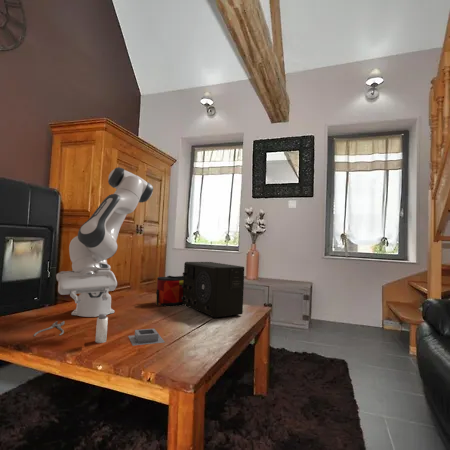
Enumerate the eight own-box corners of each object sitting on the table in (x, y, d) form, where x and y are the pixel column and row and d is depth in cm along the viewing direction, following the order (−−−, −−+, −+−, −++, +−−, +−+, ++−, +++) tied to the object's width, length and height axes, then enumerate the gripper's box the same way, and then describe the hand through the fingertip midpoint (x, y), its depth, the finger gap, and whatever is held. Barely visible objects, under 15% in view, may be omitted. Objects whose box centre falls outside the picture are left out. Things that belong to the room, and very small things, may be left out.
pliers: (32, 336, 108) (38, 322, 126) (32, 339, 108) (38, 324, 126) (63, 334, 112) (64, 320, 130) (63, 336, 112) (64, 322, 130)
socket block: (128, 338, 111) (128, 328, 112) (157, 336, 116) (158, 326, 116) (132, 348, 101) (133, 337, 102) (164, 345, 106) (165, 335, 106)
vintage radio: (176, 305, 174) (178, 261, 176) (205, 302, 185) (207, 261, 187) (210, 320, 143) (213, 267, 145) (243, 316, 154) (245, 266, 156)
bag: (191, 299, 195) (192, 273, 196) (204, 302, 185) (205, 275, 186) (148, 303, 175) (150, 275, 176) (161, 308, 165) (162, 277, 166)
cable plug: (95, 340, 105) (97, 313, 106) (106, 339, 107) (107, 313, 107) (95, 343, 102) (97, 316, 103) (106, 342, 103) (108, 315, 104)
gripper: (57, 266, 109) (62, 298, 101) (114, 264, 122) (122, 293, 114) (53, 277, 112) (58, 309, 104) (109, 274, 126) (117, 303, 118)
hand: (92, 300), depth 110 cm, fingers open, 8 cm apart
